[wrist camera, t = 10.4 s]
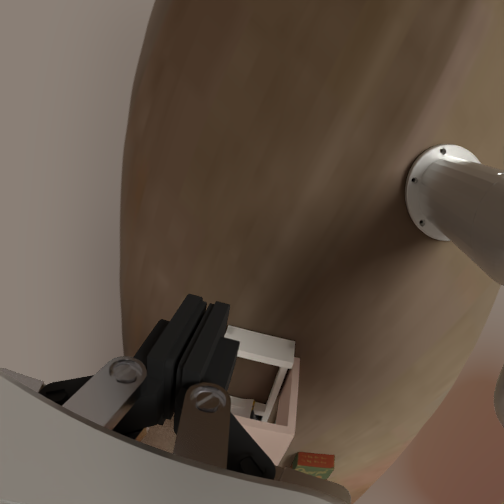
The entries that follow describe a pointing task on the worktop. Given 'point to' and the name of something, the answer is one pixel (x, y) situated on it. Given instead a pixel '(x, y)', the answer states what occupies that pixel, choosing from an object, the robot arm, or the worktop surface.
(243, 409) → the medicine bottle
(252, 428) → the cubby
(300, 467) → the carton
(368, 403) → the worktop surface
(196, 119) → the worktop surface
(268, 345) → the rack
